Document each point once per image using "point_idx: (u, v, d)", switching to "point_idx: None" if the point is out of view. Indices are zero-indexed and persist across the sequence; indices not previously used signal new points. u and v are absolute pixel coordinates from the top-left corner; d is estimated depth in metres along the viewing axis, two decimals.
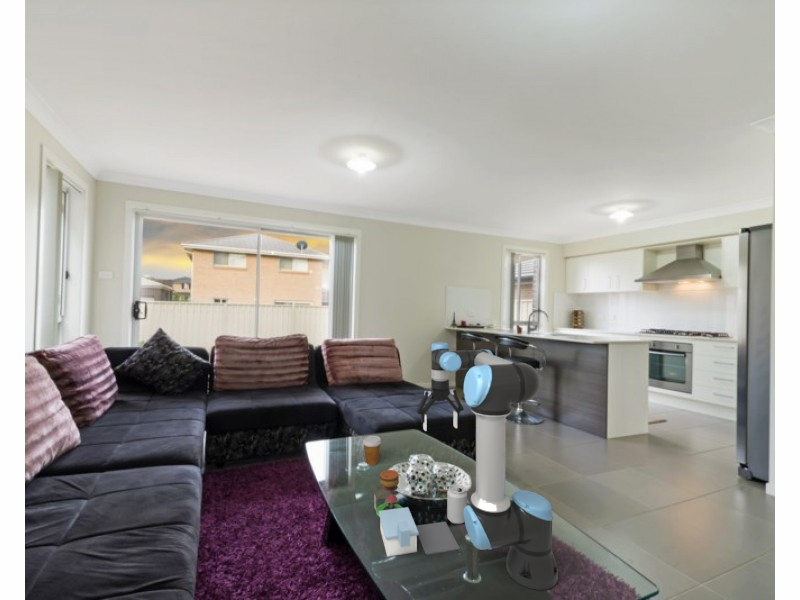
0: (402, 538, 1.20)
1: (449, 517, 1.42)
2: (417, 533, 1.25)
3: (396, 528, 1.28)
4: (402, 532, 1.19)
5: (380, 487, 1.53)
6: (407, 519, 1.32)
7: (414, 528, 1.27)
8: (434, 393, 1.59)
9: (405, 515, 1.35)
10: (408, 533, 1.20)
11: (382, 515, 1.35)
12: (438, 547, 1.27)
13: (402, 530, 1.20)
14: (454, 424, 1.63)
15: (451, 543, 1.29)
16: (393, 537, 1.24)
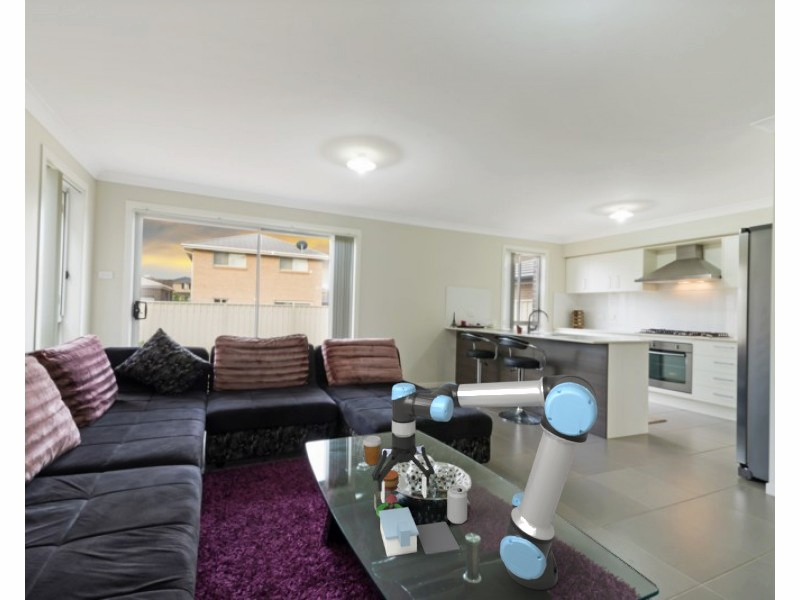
0: (402, 538, 1.20)
1: (449, 517, 1.42)
2: (417, 533, 1.25)
3: (396, 528, 1.28)
4: (402, 532, 1.19)
5: None
6: (407, 519, 1.32)
7: (414, 528, 1.27)
8: (395, 452, 1.19)
9: (405, 515, 1.35)
10: (408, 533, 1.20)
11: (382, 515, 1.35)
12: (438, 547, 1.27)
13: (402, 530, 1.20)
14: (422, 492, 1.23)
15: (451, 543, 1.29)
16: (393, 537, 1.24)
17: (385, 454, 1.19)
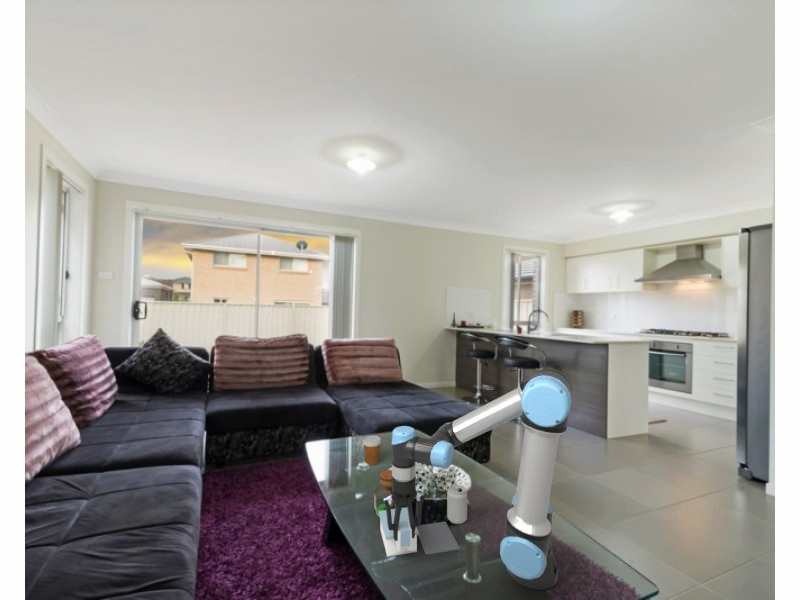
0: (402, 538, 1.20)
1: (449, 517, 1.42)
2: (417, 533, 1.25)
3: None
4: (402, 532, 1.19)
5: (380, 487, 1.53)
6: (407, 519, 1.32)
7: None
8: (395, 497, 1.20)
9: (405, 515, 1.35)
10: (408, 533, 1.20)
11: (382, 515, 1.35)
12: (438, 547, 1.27)
13: (402, 530, 1.20)
14: None
15: (451, 543, 1.29)
16: (393, 537, 1.24)
17: (387, 503, 1.19)
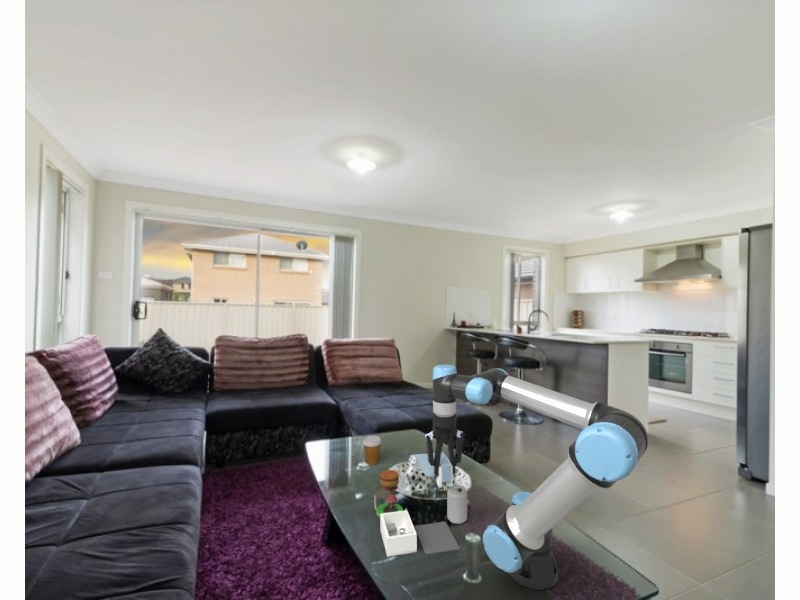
0: (443, 473, 1.21)
1: (449, 517, 1.42)
2: (456, 471, 1.27)
3: None
4: (443, 467, 1.21)
5: (380, 487, 1.53)
6: None
7: None
8: (437, 432, 1.21)
9: (442, 458, 1.36)
10: (449, 468, 1.21)
11: (419, 458, 1.36)
12: (438, 547, 1.27)
13: (443, 465, 1.21)
14: None
15: (451, 543, 1.29)
16: (433, 474, 1.25)
17: (429, 439, 1.20)
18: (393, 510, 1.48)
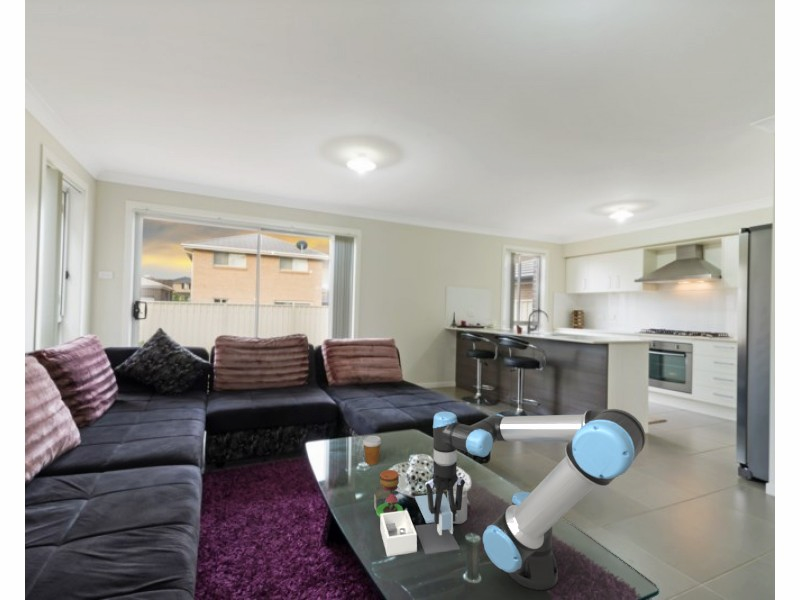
0: (443, 521, 1.21)
1: None
2: (456, 517, 1.27)
3: None
4: (444, 515, 1.21)
5: (380, 487, 1.53)
6: (444, 504, 1.34)
7: None
8: (437, 481, 1.21)
9: (442, 500, 1.37)
10: (449, 516, 1.22)
11: (419, 500, 1.37)
12: (438, 547, 1.27)
13: (443, 513, 1.22)
14: None
15: (451, 543, 1.29)
16: (433, 521, 1.25)
17: (429, 487, 1.21)
18: (393, 510, 1.48)
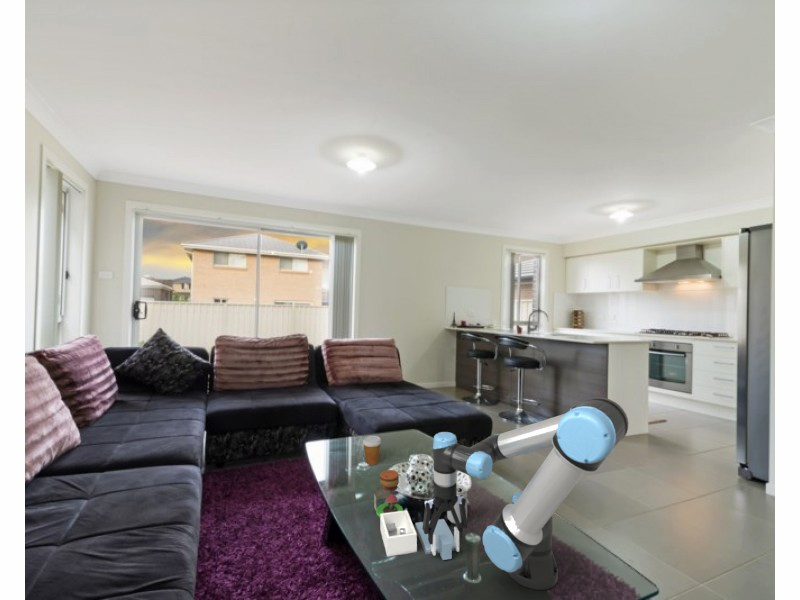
0: (444, 551, 1.22)
1: (449, 517, 1.42)
2: None
3: None
4: (444, 545, 1.21)
5: (380, 487, 1.53)
6: (445, 531, 1.34)
7: (453, 541, 1.29)
8: (437, 502, 1.22)
9: (442, 527, 1.37)
10: (450, 546, 1.22)
11: (419, 527, 1.37)
12: None
13: (444, 543, 1.22)
14: (455, 545, 1.25)
15: None
16: None
17: (428, 506, 1.21)
18: (393, 510, 1.48)
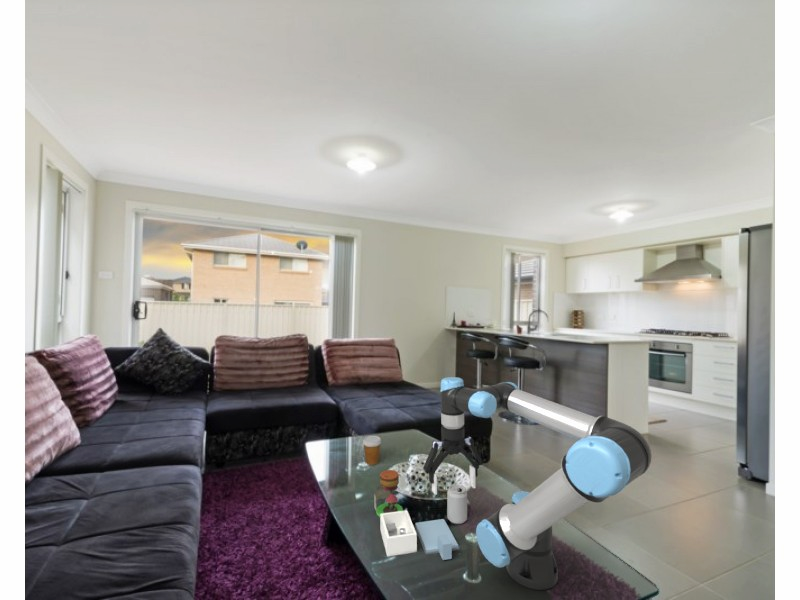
0: (444, 551, 1.22)
1: (449, 517, 1.42)
2: (457, 546, 1.27)
3: (435, 541, 1.30)
4: (444, 545, 1.21)
5: (380, 487, 1.53)
6: (445, 531, 1.34)
7: (453, 541, 1.29)
8: (446, 445, 1.23)
9: (442, 527, 1.37)
10: (450, 546, 1.22)
11: (419, 527, 1.37)
12: None
13: (444, 543, 1.22)
14: (471, 483, 1.27)
15: None
16: (434, 550, 1.26)
17: (437, 446, 1.22)
18: (393, 510, 1.48)
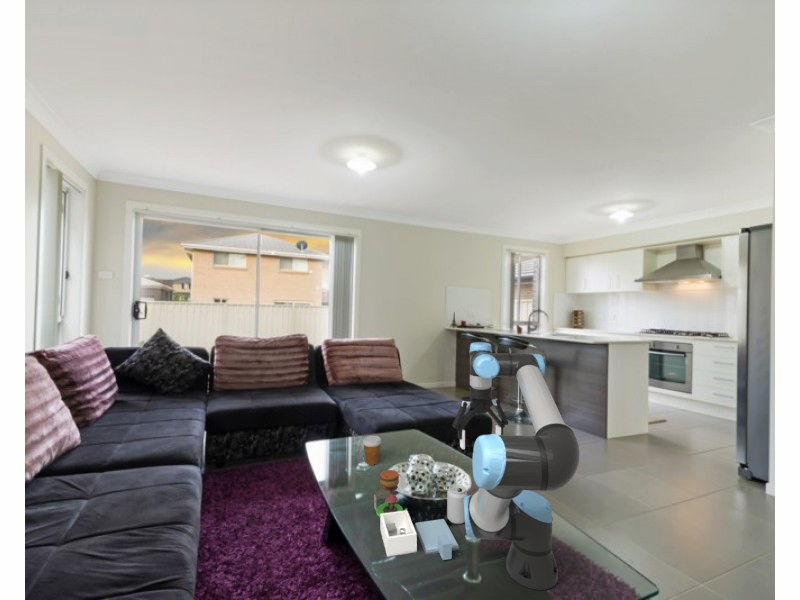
0: (444, 551, 1.22)
1: (449, 517, 1.42)
2: (457, 546, 1.27)
3: (435, 541, 1.30)
4: (444, 545, 1.21)
5: (380, 487, 1.53)
6: (445, 531, 1.34)
7: (453, 541, 1.29)
8: (474, 404, 1.32)
9: (442, 527, 1.37)
10: (450, 546, 1.22)
11: (419, 527, 1.37)
12: None
13: (444, 543, 1.22)
14: None
15: None
16: (434, 550, 1.26)
17: (465, 405, 1.31)
18: (393, 510, 1.48)
